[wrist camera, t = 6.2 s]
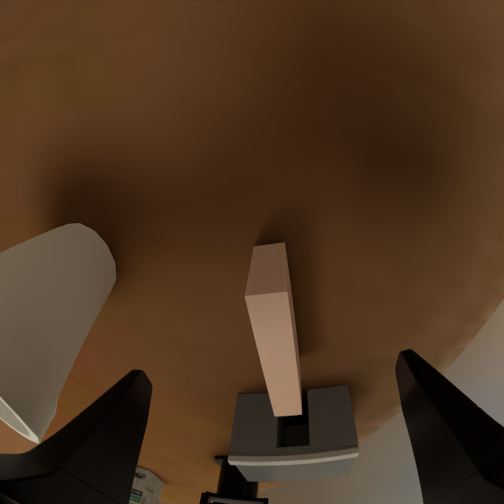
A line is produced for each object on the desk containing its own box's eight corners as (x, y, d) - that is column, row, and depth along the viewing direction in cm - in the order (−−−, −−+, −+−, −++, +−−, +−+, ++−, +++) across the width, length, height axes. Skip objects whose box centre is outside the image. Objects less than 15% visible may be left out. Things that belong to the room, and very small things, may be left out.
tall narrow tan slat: (299, 360, 20) (302, 414, 16) (276, 363, 20) (274, 416, 16) (284, 242, 16) (287, 291, 11) (253, 246, 16) (244, 296, 12)
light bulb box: (122, 461, 41) (109, 499, 31) (150, 469, 40) (138, 509, 31) (140, 476, 46) (130, 509, 36) (165, 483, 45) (156, 518, 35)
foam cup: (137, 325, 20) (64, 462, 9) (53, 294, 20) (-30, 391, 9) (133, 212, 16) (-24, 355, 5) (38, 194, 16) (-92, 276, 4)
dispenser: (342, 423, 25) (348, 478, 18) (253, 431, 26) (247, 485, 20) (347, 384, 22) (359, 452, 15) (237, 393, 23) (227, 460, 17)
